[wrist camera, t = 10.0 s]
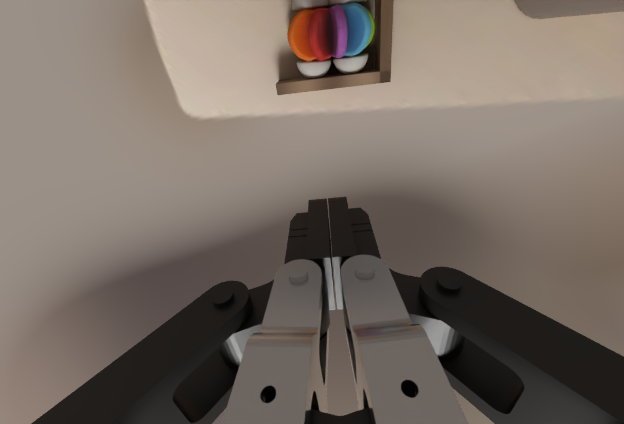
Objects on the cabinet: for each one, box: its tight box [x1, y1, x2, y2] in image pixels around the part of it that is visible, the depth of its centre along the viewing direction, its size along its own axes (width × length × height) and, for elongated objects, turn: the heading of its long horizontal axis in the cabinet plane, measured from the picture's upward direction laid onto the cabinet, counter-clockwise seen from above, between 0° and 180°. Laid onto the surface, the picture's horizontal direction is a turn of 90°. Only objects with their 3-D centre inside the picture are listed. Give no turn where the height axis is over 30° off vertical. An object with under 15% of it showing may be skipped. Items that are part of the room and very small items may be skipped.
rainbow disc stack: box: [288, 0, 375, 78], centre depth 29 cm, size 8×10×7 cm
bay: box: [276, 0, 393, 95], centre depth 30 cm, size 13×14×4 cm
